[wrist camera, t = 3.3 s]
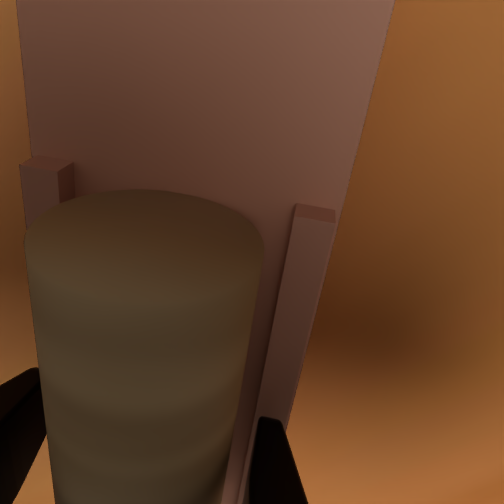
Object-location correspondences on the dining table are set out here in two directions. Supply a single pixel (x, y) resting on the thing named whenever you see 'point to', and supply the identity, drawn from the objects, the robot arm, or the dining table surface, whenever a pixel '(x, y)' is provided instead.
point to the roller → (141, 342)
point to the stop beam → (212, 139)
